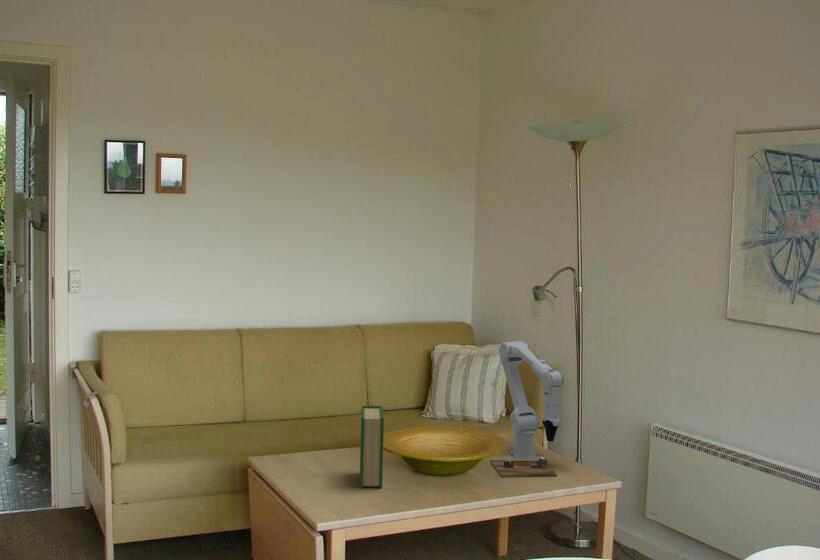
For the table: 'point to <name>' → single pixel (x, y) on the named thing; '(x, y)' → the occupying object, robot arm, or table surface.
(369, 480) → the hardback book
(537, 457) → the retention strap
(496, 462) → the strap board
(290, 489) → the table surface
